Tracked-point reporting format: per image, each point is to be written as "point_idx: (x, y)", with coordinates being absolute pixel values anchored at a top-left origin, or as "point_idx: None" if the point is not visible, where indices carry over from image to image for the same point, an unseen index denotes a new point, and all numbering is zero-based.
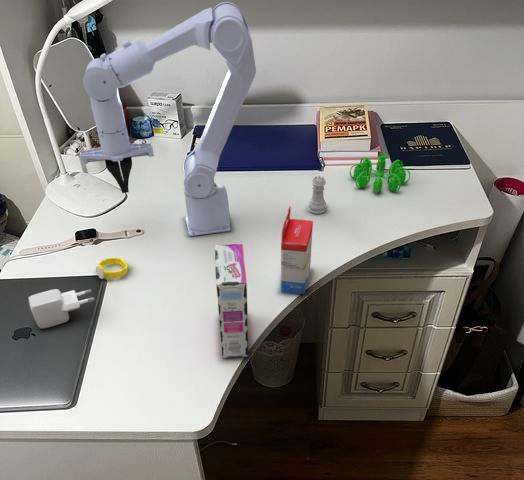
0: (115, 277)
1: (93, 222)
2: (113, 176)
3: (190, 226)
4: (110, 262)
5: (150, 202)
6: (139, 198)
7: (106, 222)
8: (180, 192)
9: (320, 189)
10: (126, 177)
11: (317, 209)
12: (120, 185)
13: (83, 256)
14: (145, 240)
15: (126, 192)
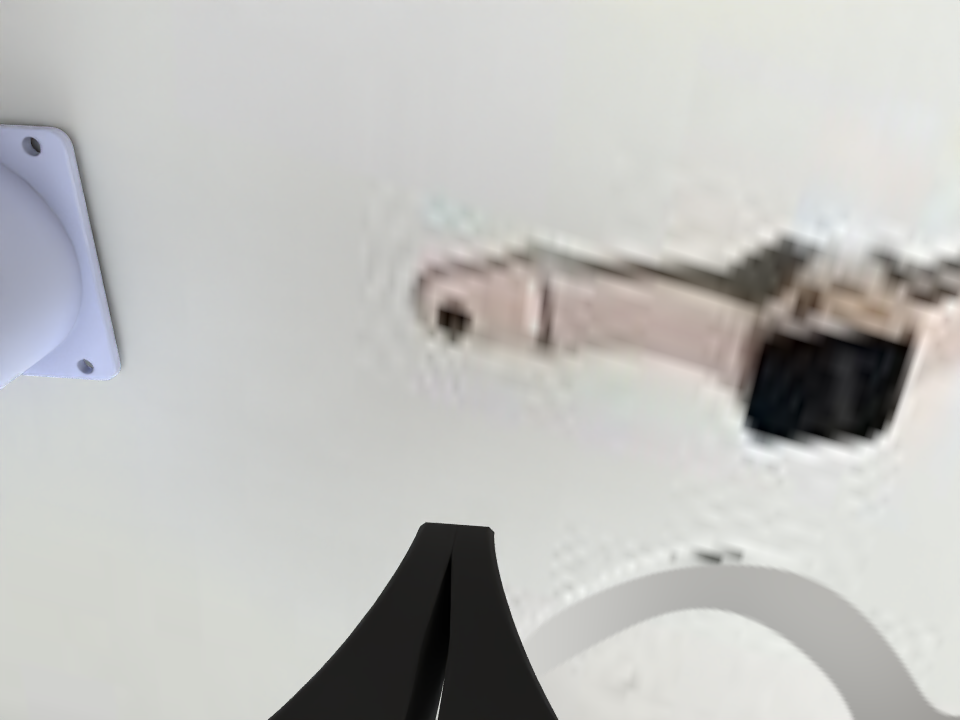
0: None
1: (741, 505)
2: (553, 713)
3: (50, 225)
4: None
5: (357, 597)
6: None
7: (658, 481)
8: (176, 635)
9: None
10: (363, 660)
11: None
12: (487, 591)
13: (929, 103)
14: (414, 185)
15: (445, 525)
